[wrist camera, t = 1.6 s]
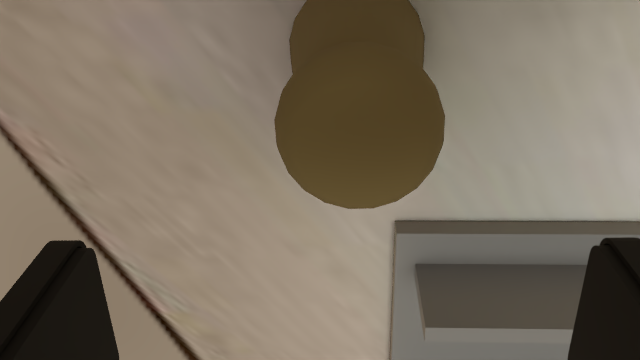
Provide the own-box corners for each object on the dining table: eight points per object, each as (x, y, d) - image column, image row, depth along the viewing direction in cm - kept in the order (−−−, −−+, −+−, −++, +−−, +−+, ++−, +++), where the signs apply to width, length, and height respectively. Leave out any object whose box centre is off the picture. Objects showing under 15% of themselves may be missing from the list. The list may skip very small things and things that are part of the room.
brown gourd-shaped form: (411, 119, 28) (443, 250, 18) (284, 103, 28) (248, 227, 18) (437, -14, 25) (491, 59, 16) (295, -31, 25) (260, 31, 15)
